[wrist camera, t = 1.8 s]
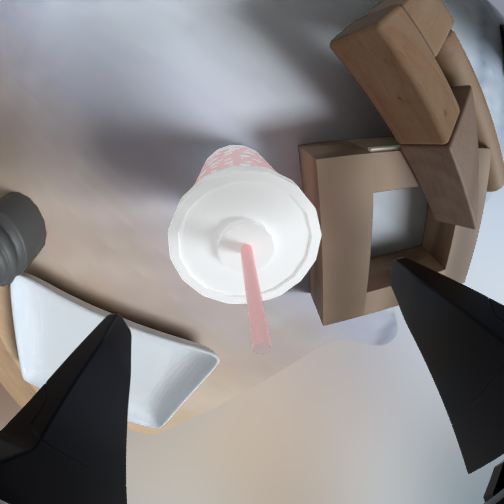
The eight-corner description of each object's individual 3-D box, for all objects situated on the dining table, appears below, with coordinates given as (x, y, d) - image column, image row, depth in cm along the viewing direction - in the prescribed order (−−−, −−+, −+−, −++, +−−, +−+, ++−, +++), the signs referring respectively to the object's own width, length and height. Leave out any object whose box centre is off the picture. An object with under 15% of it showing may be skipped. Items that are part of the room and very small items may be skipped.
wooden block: (376, 21, 8) (482, 262, 16) (428, -21, 8) (510, 168, 17) (323, 45, 11) (445, 250, 19) (390, -8, 12) (479, 163, 20)
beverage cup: (243, 233, 21) (272, 415, 9) (172, 188, 19) (108, 361, 7) (298, 169, 19) (412, 315, 7) (226, 114, 16) (237, 180, 5)
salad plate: (224, 332, 27) (225, 360, 24) (161, 412, 36) (159, 432, 33) (24, 248, 20) (6, 269, 17) (30, 362, 29) (22, 380, 26)
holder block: (459, 133, 18) (491, 146, 14) (442, 259, 25) (464, 282, 21) (297, 142, 18) (315, 155, 14) (310, 293, 25) (323, 325, 22)
